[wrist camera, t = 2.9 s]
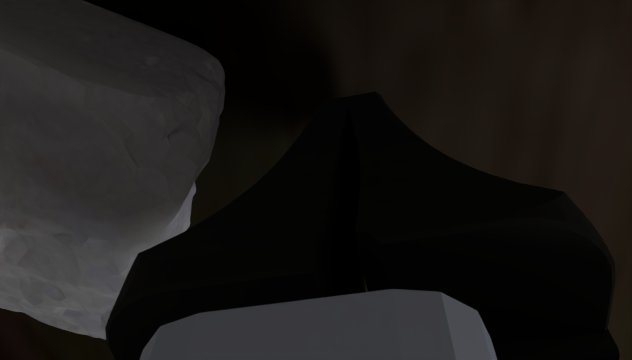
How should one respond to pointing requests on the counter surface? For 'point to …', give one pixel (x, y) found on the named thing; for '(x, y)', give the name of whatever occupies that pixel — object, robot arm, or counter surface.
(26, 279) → the stone block
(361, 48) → the counter surface
